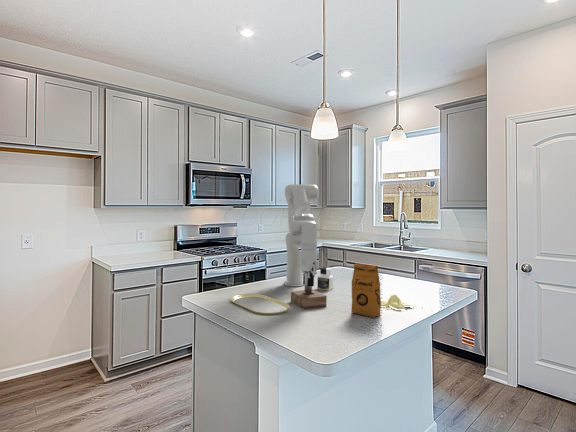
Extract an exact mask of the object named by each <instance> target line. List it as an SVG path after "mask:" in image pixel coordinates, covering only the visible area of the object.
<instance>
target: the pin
mask: <svg viewBox="0 0 576 432" xmlns="http://www.w3.org/2000/svg"><path fill="white" fill-rule="evenodd" d="M310 274H311V273H310ZM307 278H308V272H306V271H305V285H304V290H305V291H304V292H308V293H310V292H312V289H313V286H309V287H308V286H307Z"/></svg>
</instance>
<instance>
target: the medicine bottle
mask: <svg viewBox="0 0 576 432" xmlns="http://www.w3.org/2000/svg"><path fill="white" fill-rule="evenodd" d="M333 288H334V275H332V269H331V268H330V267H327V266H325V267H321V268H320V275H319V276H317V290H321V291H322V290H324V291H330V290H332V289H333Z"/></svg>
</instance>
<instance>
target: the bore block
mask: <svg viewBox="0 0 576 432" xmlns="http://www.w3.org/2000/svg"><path fill="white" fill-rule="evenodd" d="M304 291H305V289H300V290H291V291H290V302H291V303H292V304H294V305H296V306H298V307H299V308H301V309H303V310H309V309H318V308H324V307H327V295H325V294H323V293H321V292H319V291H318V290H317V291H316V290H314V289H313V288H312V292H310V293H308V292H304Z"/></svg>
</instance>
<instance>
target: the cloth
mask: <svg viewBox="0 0 576 432" xmlns="http://www.w3.org/2000/svg"><path fill="white" fill-rule="evenodd" d="M387 300H388V301H387V302H386V301H385V300H384V301H383V300H381V306H389V305H390V306H392V307H394V308H397V309H407V308H404V306H412V305H403V304H405V303H406V304H408V302H402V300H401V299H400V297H399V296H398V295H397V294H395V293H394V294H391V295H390V296H389V298H388V299H387Z"/></svg>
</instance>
